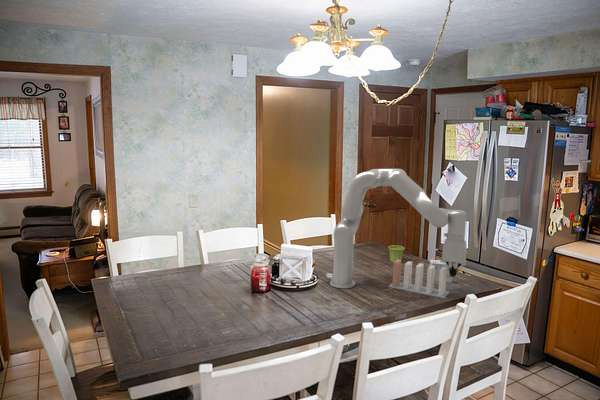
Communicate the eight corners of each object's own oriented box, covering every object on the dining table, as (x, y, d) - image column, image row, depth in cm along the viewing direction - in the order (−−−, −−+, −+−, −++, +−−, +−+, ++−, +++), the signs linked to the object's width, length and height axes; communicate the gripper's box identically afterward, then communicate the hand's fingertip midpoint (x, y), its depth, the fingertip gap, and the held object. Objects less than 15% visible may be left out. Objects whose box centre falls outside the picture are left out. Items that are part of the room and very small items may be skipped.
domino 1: (392, 286, 219) (393, 262, 218) (396, 282, 225) (397, 259, 223) (396, 286, 218) (397, 263, 217) (400, 283, 224) (401, 260, 222)
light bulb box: (449, 280, 233) (450, 260, 232) (452, 284, 227) (453, 264, 225) (428, 279, 234) (429, 259, 233) (430, 283, 228) (432, 262, 226)
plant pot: (406, 261, 266) (406, 246, 265) (400, 264, 258) (401, 250, 257) (390, 258, 271) (391, 244, 270) (385, 262, 263) (385, 247, 262)
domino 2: (403, 288, 217) (404, 264, 215) (407, 284, 222) (408, 261, 220) (407, 289, 216) (408, 264, 214) (411, 285, 221) (412, 261, 219)
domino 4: (426, 292, 211) (427, 268, 209) (429, 289, 216) (431, 265, 214) (430, 293, 210) (432, 268, 208) (433, 289, 215) (435, 265, 213)
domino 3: (414, 290, 214) (416, 266, 212) (418, 286, 219) (419, 263, 217) (418, 291, 213) (420, 266, 211) (422, 287, 218) (423, 263, 216)
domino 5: (437, 295, 208) (439, 270, 207) (441, 291, 214) (442, 267, 212) (442, 296, 207) (444, 271, 206) (445, 292, 213) (447, 267, 211)
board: (387, 288, 219) (387, 286, 219) (394, 282, 227) (394, 281, 227) (444, 300, 205) (444, 298, 205) (449, 293, 214) (449, 291, 214)
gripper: (437, 236, 205) (434, 275, 207) (471, 241, 197) (468, 281, 200) (441, 233, 211) (438, 271, 214) (474, 238, 204) (471, 277, 206)
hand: (452, 276), depth 207 cm, fingers closed
